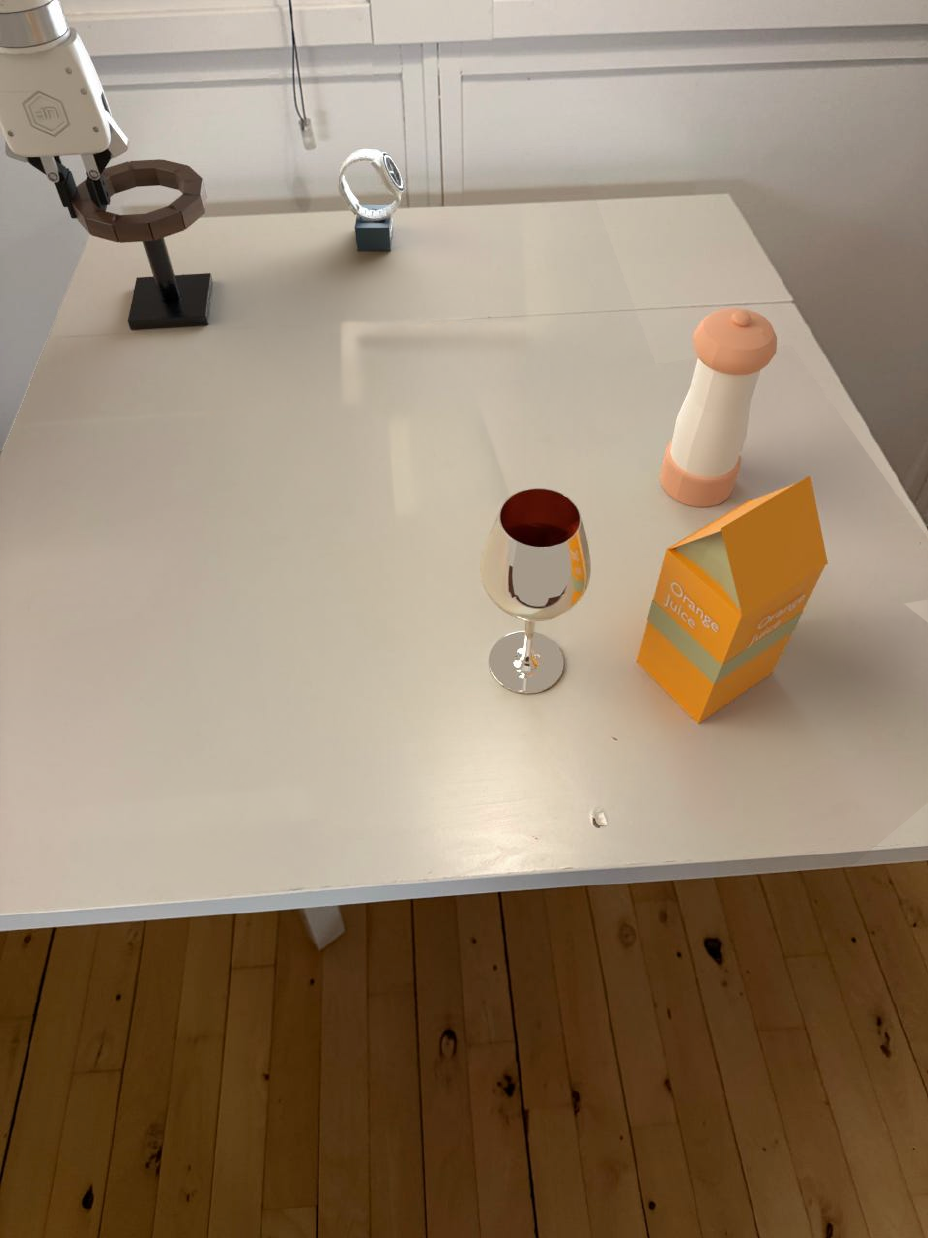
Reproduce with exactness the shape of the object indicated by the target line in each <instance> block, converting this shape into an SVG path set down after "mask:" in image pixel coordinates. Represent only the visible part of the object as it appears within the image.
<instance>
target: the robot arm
mask: <svg viewBox="0 0 928 1238" xmlns="http://www.w3.org/2000/svg"><path fill="white" fill-rule="evenodd" d="M107 98H108V97H107V96H106V93H105V90H104V88H103V85H102V83H101V80H100V78H99V75H98V73H97V70H96V68H95V65H94V63H93V61H92V59H91V57H90V54H89V52H88V50H87V48H86V47H85V44H84V42H83V40H82V38H81V37H80V35H79V33H78V31H77V30H76V28H75V27H70V26H69V24H68V20H67V18H66V14H65V12H64V8H63V5H62V1H61V0H0V129H1V131H2V134H3V138H4V139H5V146H4V148H5V149H4V152H5V155H6V156H7V157H8V158H10V159H13V160H17V161H20V162H23V163H29V165H30V166H32V167H33V168H35V169H36V170H37V171H39V172H41V173H42V174H44V175H45V176H46V178H47V179H48V181H49V182H51V183H54V186H55V189H56V192H57V194H58V196H59V199H60V202H61V206H62V207H63V208H67V210H68V212H69V216H70V218H71V219H77V216H76V213H75V210H74V208H73V205H72V201H73V198H74V195H75V192H76V188H77V186H78V185H77V184H76V180H75V178H74V175H73V172H72V171H71V170H70V168H68V167H66V166H65V165H64V162H63V159H62V156H63V157H65V156H79V155H80V157H81V159H82V162H83V165H84V168H85V171H86V172H85V174H86V178H85V180H86V186H87V189H88V192H89V195H90V198H91V200H92V201H93V202H94V203H95V204H96V206H97V207H98V208H99V209H100V210H103V211H107V208H108V206H109V205H111V197H110V194H109V191H108V188H107V185H106V182H105V179H104V176H103V173H102V172H103V171H104V169H105V168H107V166H108V164H110V162H111V160H112V159H116V158H117V157H118V156H121V155H122V154H124V153H126V152H127V151H128V149H129V147H130V146H129V145H130V141H129V139H128V137H127V136H126V135H125V133H124V132H123V130H122V129H121V128H120V127H119V125H118V124H117V122H116V121H115V120H114V117H113V114H112V111H111V108H110V104H109V101H108V99H107Z"/></svg>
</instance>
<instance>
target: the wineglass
mask: <svg viewBox="0 0 928 1238" xmlns="http://www.w3.org/2000/svg"><path fill="white" fill-rule="evenodd" d="M496 515H497V516H496V518H495V520H494V522H493V524H492V526H491V529H490V531H489V533H488V536H487V538H486V541H485V543H484V546H483V549H482V553H481V559H480V563H479V564H480V567H479V572H480V579H481V583H482V586H483V588H484V591H485V593H486V594H487V596H488V597H489V599H490V600H491V602H492V603H493V604H494V605H495V606H496V607H498V609H500V610H501V611H502V612H504V613H505V614H507V615H509V616H511V617H512V618H515V619H518V620H522V621H524V622H525V623H524V630H519V631H513V632H511V633H508V634H506V635H503V636H502V637H501V638H500V639H498V640H497V641H496V642H495V643H494V645H493V646H492V648H491V649H490V652H489V655H488V667H489V671H490V673H491V676H492V677H493V678H494V680H495V681H496V682H497V683H498V684H499V685H500V686H502V687H503V688H504V689H506V690H508V691H510V692H514V693H516V694H522V695H532V694H533V695H534V694H538V693H542V692H545V691H546V690H549V688H551V687H553V686H554V685H555V684H557V681H559V680H560V678H561V676H562V674H563V671H564V657H563V653H562V651H561V649H560V647H559V646H558V645H557V644H556V643H555V641H554V640H552V639H551V638H549V637H547V636H546V635H544V634H542V633H539V632H535V630H536V629H535V627H536V622H545V621H549V620H553V619H556V618H558V617H561V616H562V615H565V614H566V613H567V612H569V611H570V610H572V609H573V608H574V607H575V606H577V604H578V603H579V602H580V601H581V600H582V598H583V596H584V595H585V594H586V592H587V590H588V587H589V584H590V581H591V573H592V564H591V555H590V549H589V544H588V540H587V535H586V534H587V533H586V531H585V526H584V522H583V518H582V514H581V511H580V508H579V507H578V505H577V504H576V502H574V501H573V499H571V498H570V497H569V496H567V495H566V494H565V493H563V492H559V491H557V490H554V489H550V488H545V487H532V488H525V489H522V490H520V491H517V492H515V493H513V494H512V495H510V496H509V497H507V499H505V500H504V502H502V505H501V507H500V508H499V511H498V513H497V514H496Z"/></svg>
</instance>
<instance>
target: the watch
mask: <svg viewBox="0 0 928 1238" xmlns="http://www.w3.org/2000/svg"><path fill="white" fill-rule="evenodd" d="M364 161H367V162H370V165H371V166H372V167H373V168H374V170H375V172H376V175H377V178H378V179H379V182H380V183H381V185H382V186H383V189H385V191H386V192H387V193H388V194H390V195H391V196H392V197H394V200H393V202H391V204H360V200H358V199H357V197H356V196H355V194H354V193H353V191H352V190H351V188H350V186H349V184H348V181H347V180H346V176H345V175H344V172H346V170H347V169H348V168H349V167H351V166H352V165H353V164H356V163H359V162H364ZM404 183H405V182H404V180H403V176H402V174H401V172H400V169H399V168H398V165H397V164H396V162H395V160H393V158H392V156H390V155H389V153H388V152H385V151H381V150H378V149H374V148H361V149H357V150H355V151H353V152H351V153H350V154H349V155H348V156H347V157H346V158H345V159H344V160H343V162H342V164H341V166H340V170H339V176H338V191H339V194H340V196H341V198H342V200H343V202H344V203H345V205H346V206H347V209H349V210H350V212H351V213H352V214H353V215H354V216H356V217H355V224H354V234H355V244H356V251H357V252H391V251H392V243H393V233H394V220H393V219H394V218H393V215H394V214H395V212H396V211H397V210H398V208H399V207H400V204H401V199H402V193H403V192H404V191H405V184H404Z"/></svg>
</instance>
